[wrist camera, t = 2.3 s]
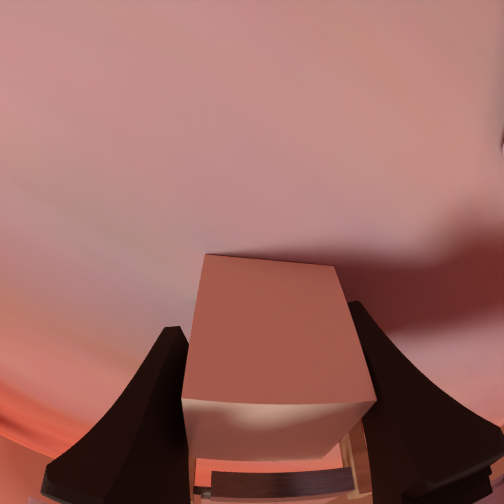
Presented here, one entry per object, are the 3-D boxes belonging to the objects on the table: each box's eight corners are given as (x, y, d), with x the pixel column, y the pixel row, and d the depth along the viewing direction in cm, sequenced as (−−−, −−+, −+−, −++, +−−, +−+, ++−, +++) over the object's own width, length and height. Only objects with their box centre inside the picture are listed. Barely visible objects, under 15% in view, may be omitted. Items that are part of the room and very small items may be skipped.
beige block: (333, 265, 11) (377, 399, 6) (304, 346, 14) (321, 458, 9) (205, 254, 11) (181, 398, 6) (202, 339, 13) (190, 457, 9)
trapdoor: (201, 470, 12) (199, 495, 11) (360, 465, 12) (363, 488, 11) (202, 496, 16) (201, 512, 15) (313, 495, 17) (314, 511, 16)
